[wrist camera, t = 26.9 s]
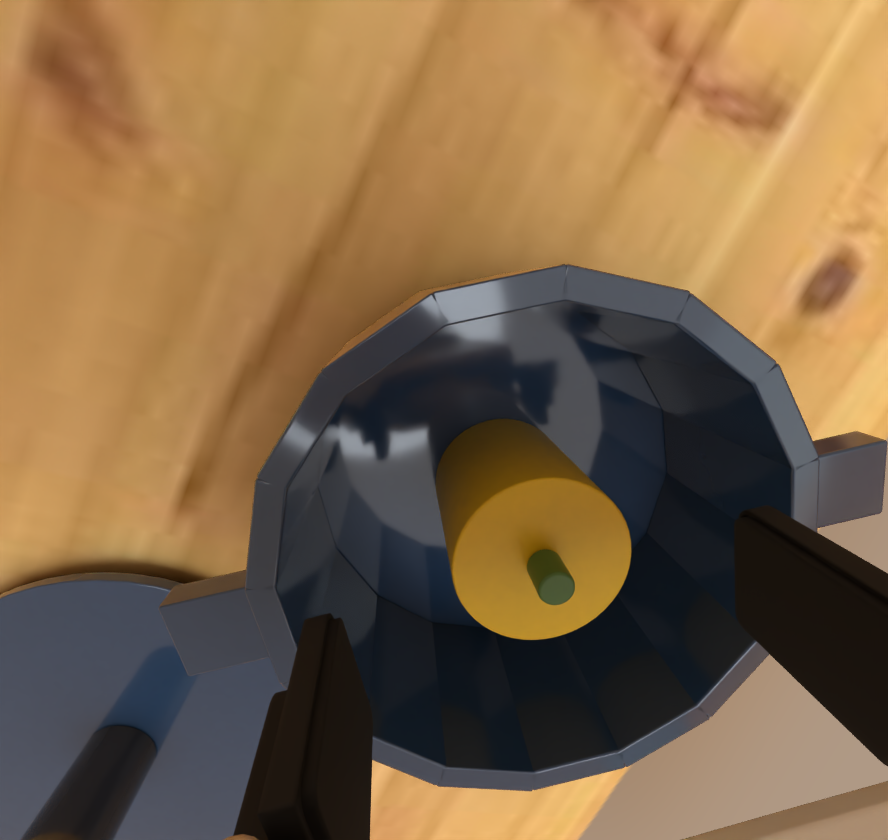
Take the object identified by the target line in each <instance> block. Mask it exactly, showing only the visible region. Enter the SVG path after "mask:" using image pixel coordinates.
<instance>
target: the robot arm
mask: <svg viewBox="0 0 888 840" xmlns="http://www.w3.org/2000/svg"><path fill="white" fill-rule="evenodd" d="M734 564H735V614H736V617H737V620H738V622H739V623H740V625H741V626H742V628H743V629H744V630H745V631H746V632H747V633H748V634H749V635H750V636H751V637H753V638H754V639H755V640H756V641H757V642H758V643H759V644H760V645H761V646H762V647H763V648H764V649H765V650H766V651H767V652H768V653H769V654H770V655H771V656H772V657H773V658H774V659H775V660H776V661H777V662H778V663H779V664H780V665H782V666H783V667H784V668H785V669H786V670H787V671H788V672H789V673H790V674H791V675H792V676H793V677H794V678H795V679H796V680H797V681H798V682H799V683H800V684H801V685H802V686H803V687H804V688H805V689H806V690H807V691H808V692H809V693H810V694H811V695H813V696H814V697H815V698H816V699H817V700H818V701H819V702H820V703H821V704H822V705H823V706H824V707H825V708H826V709H827V710H828V711H829V712H830V713H831V714H832V715H833V716H834V717H835V718H836V719H838V721H839V722H840V723H842V724H843V725H844V726H845V727H846V728H847V729H848V730H849V731H850V732H851V733H852V734H853V735H854V736H855V737H856V738H857V739H858V740H859V741H860V742H861V743H862V744H863V745H865V747H866V748H867V749H868V750H869V751H870V752H872V753H873V754H874V755H875V756H876V757H877V758H878V759H879V760H880V761H881V762H882V763H883V764H885V765H887V766H888V574H887V573H886V572H884V571H882V570H881V569H879V568H877V567H875V566H874V565H872V564H870V563H869V562H867V561H865V560H863V559H862V558H860V557H858V556H857V555H855V554H853V553H851V552H850V551H848V550H846V549H844V548H843V547H841V546H839V545H837V544H836V543H834V542H832V541H831V540H829V539H827V538H825V537H824V536H822V535H820V534H818V533H817V532H815V531H813V530H812V529H810V528H808V527H806V526H805V525H803V524H801V523H800V522H798V521H796V520H794V519H793V518H791V517H789V516H787V515H786V514H784V513H782V512H781V511H779V510H777V509H775V508H774V507H771V506H769V505H764V506H760V507H756V508H752V509H748V510H744V511H742V512H741V513H740V515H739V519H737V520H735V522H734ZM372 743H373V718H372V711H371V707H370V703H369V700H368V697H367V694H366V691H365V688H364V685H363V682H362V679H361V675H360V672H359V669H358V666H357V663H356V660H355V657H354V654H353V651H352V647H351V644H350V641H349V638H348V635H347V632H346V629H345V626H344V623H343V620H342V618H336V619H334V617H333V615H332V614H331V613H328V614H324V615H320V616H316V617H312V618H308V619H305V620H304V623H303V627H302V631H301V635H300V639H299V643H298V648H297V652H296V656H295V660H294V664H293V668H292V672H291V676H290V680H289V685H288V689H287V690H285V691H281V692H277V693H275V694H274V695H273V697H272V699H271V702H270V704H269V708H268V712H267V715H266V719H265V722H264V726H263V730H262V733H261V737H260V740H259V744H258V748H257V751H256V755H255V759H254V762H253V766H252V769H251V773H250V777H249V780H248V784H247V787H246V791H245V795H244V798H243V802H242V806H241V809H240V813H239V816H238V820H237V824H236V827H235V831H234V834H233V836H229V837H227V838H225V839H223V840H370V811H371V777H372ZM682 840H888V781H886V782H883V783H879V784H876V785H872V786H869V787H865V788H861V789H858V790H855V791H851V792H847V793H844V794H840V795H836V796H833V797H830V798H826V799H822V800H819V801H815V802H812V803H808V804H804V805H801V806H797V807H794V808H791V809H787V810H783V811H780V812H776V813H773V814H769V815H766V816H762V817H759V818H756V819H752V820H748V821H745V822H741V823H738V824H735V825H731V826H727V827H724V828H721V829H717V830H713V831H710V832H707V833H703V834H700V835H696V836H693V837H689V838H686V839H682Z"/></svg>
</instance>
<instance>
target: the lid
mask: <svg viewBox="0 0 888 840" xmlns="http://www.w3.org/2000/svg"><path fill="white" fill-rule="evenodd" d="M182 584H184V583H180V582H176V581H173V580H169V579H165V578H160V577H154V576H147V575H141V574H134V573H116V572H95V573H76V574H70V575H64V576H58V577H52V578H46V579H43V580H39V581H36V582H33V583H29V584H26V585H22V586H19V587H16V588H14V589H12V590H9V591H7V592H5V593H2V594H0V840H223V839H225V838H227V837H229V836H233V834H234V831H235V827H236V824H237V820H238V816H239V813H240V809H241V806H242V802H243V798H244V795H245V791H246V787H247V784H248V780H249V777H250V773H251V769H252V766H253V762H254V759H255V755H256V751H257V748H258V744H259V740H260V737H261V733H262V730H263V726H264V722H265V719H266V715H267V712H268V708H269V704H270V702H271V699H272V697H273V695H274V694H275V693H277V692H281V691H285V690H286V689H285V688H284V687H283V686H282V683H279V681H278V678H277V675H276V673H275V670H274V667H273V665H272V662H271V659H270V657H269V658H265V659H260V660H256V661H252V662H248V663H243V664H239V665H235V666H231V667H226V668H222V669H218V670H214V671H209V672H205V673H201V674H197V675H192V676H188V674H187V672H186V670H185V667H184V665H183V663H182V661H181V658H180V656H179V654H178V652H177V649H176V647H175V645H174V643H173V640H172V638H171V636H170V634H169V632H168V629H167V627H166V625H165V623H164V620H163V618H162V616H161V614H160V611H159V609H158V608H159V606H160V605H161V603H162V602H163V601H164V599H165V598H166V597H167V595H168V594H169V593H170V591H171V590H172V589H173V587H175V586H177V585H182Z"/></svg>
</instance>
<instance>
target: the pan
mask: <svg viewBox="0 0 888 840" xmlns="http://www.w3.org/2000/svg"><path fill="white" fill-rule="evenodd" d="M495 419H513V420H518V421H522V422H525V423H528V424H530V425H532V426H534V427H536V428H538V429H539V430H540V431H542V432H543V433H544V434H545V435H546V436H547V437H548V438H549V439H550V440H551V441H552V442H553V443H554V444H555V445H556V446H557V447H558V448H559V449H560V450H561V451H562V452H563V453H564V454H565V455H566V456H567V457H568V458H569V459H570V460H571V461H572V462H573V463H574V464H575V465H576V466H577V467H578V468H579V469H580V470H581V471H582V472H583V473H585V474H586V475H587V476H588V477H589V478H590V479H591V480H592V481H593V482H594V483H595V484H596V485H597V486H598V487H599V488H600V489H601V490H602V491H603V492H604V493H605V494H606V495H607V496H608V497H609V498H610V499H611V500H612V501H613V502H614V503H615V505H616V506H617V507H618V509H619V510H620V511H621V513H622V515H623V517H624V519H625V521H626V523H627V526H628V529H629V533H630V538H631V561H630V566H629V570H628V574H627V576H626V579H625V581H624V584H623V586H622V587H621V589H620V591H619V593H618V594H617V596H616V597H615V598H614V600H613V601H612V602H611V603H610V605H609V606H608V607H607V608H606V609H605V610H604V611H603V612H602V613H600V614H599V615H598V616H597V617H596V618H594V619H593V620H592V621H590V622H589V623H587V624H586V625H584V626H582V627H580V628H578V629H577V630H574V631H572V632H569V633H567V634H564V635H561V636H557V637H553V638H548V639H539V640H523V639H516V638H510V637H507V636H503V635H500V634H498V633H496V632H493V631H491V630H489V629H488V628H486V627H484V626H483V625H481V624H480V623H479V622H478V621H476V620H475V619H474V618H473V617H472V616H471V615H470V614H469V613H468V612H467V611H466V609H465V608H464V606H463V605H462V603H461V602H460V600H459V598H458V596H457V594H456V591H455V587H454V584H453V580H452V574H451V569H450V563H449V558H448V553H447V547H446V542H445V536H444V531H443V526H442V520H441V515H440V510H439V504H438V499H437V493H436V473H437V469H438V465H439V462H440V460H441V457H442V455H443V454H444V452H445V450H446V449H447V447H448V446H449V445H450V444H451V442H452V441H453V440H454V439H455V438H456V437H457V436H459V435H460V434H461V433H462V432H464V431H465V430H467V429H469V428H470V427H472V426H474V425H477V424H479V423H482V422H485V421H489V420H495ZM886 452H887V441H886V440H883V439H880V438H877V437H874V436H871V435H867V434H864V433H861V432H857V431H856V432H851V433H846V434H842V435H837V436H833V437H829V438H824V439H820V440H815V441H812V438H811V436H810V434H809V432H808V429H807V427H806V425H805V422H804V420H803V418H802V416H801V413H800V411H799V409H798V406H797V404H796V402H795V400H794V397H793V395H792V393H791V391H790V388H789V386H788V384H787V381H786V379H785V377H784V375H783V372H782V370H781V368H780V366H779V365H778V364H777V363H776V361H775V360H774V359H773V358H771V357H770V356H769V355H768V354H766V353H765V352H764V351H763V350H761V349H760V348H759V347H758V346H756V345H755V344H754V343H753V342H751V341H750V340H749V339H748V338H747V337H745V336H744V335H743V334H742V333H740V332H739V331H738V330H737V329H735V328H734V327H733V326H732V325H730V324H729V323H728V322H727V321H725V320H724V319H723V318H722V317H720V316H719V315H718V314H717V313H716V312H714V311H713V310H712V309H711V308H709V307H708V306H707V305H706V304H704V303H703V302H702V301H701V300H699V299H698V298H697V297H696V296H694V295H693V294H692V293H690V292H689V291H687V290H683V289H678V288H674V287H669V286H665V285H660V284H656V283H651V282H647V281H642V280H638V279H633V278H628V277H624V276H619V275H615V274H610V273H606V272H601V271H597V270H592V269H588V268H583V267H579V266H574V265H570V264H566V265H565V264H562V265H555V266H549V267H542V268H535V269H529V270H522V271H516V272H509V273H503V274H498V275H493V276H488V277H484V278H479V279H474V280H469V281H464V282H459V283H455V284H450V285H445V286H441V287H436V288H431V289H426V290H422V291H420V292H417V293H416V294H415V295H413V296H412V297H410V298H409V299H407V300H406V301H405V302H403V303H402V304H400V305H399V306H397V307H396V308H395V309H393V310H392V311H390V312H389V313H387V314H386V315H384V316H383V317H382V318H380V319H379V320H378V321H376V322H375V323H373V324H372V325H370V326H369V327H368V328H366V329H365V330H363V331H362V332H361V333H359V334H358V335H356V336H355V337H353V338H352V339H351V340H349V341H348V343H347V344H346V345H345V346H344V347H343V348H342V349H341V350H340V351H339V352H338V353H337V354H336V355H335V356H334V357H333V358H332V359H331V360H330V361H329V362H328V363H327V364H326V365H325V367H324V368H323V369H322V370H321V371H320V372H319V373H318V375H317V377H316V378H315V380H314V382H313V383H312V385H311V387H310V388H309V390H308V391H307V393H306V395H305V396H304V398H303V400H302V401H301V403H300V405H299V406H298V408H297V410H296V411H295V413H294V415H293V416H292V418H291V420H290V421H289V423H288V425H287V426H286V428H285V429H284V431H283V433H282V434H281V436H280V438H279V439H278V441H277V443H276V444H275V446H274V448H273V449H272V451H271V453H270V454H269V456H268V458H267V459H266V461H265V463H264V464H263V466H262V468H261V469H260V471H259V472H258V474H257V479H256V480H255V487H254V497H253V507H252V517H251V527H250V537H249V547H248V557H247V567H246V570H243V571H239V572H234V573H230V574H226V575H221V576H217V577H213V578H208V579H204V580H199V581H195V582H191V583H186V584H182V585H177V586H175V587H173V589H172V590H171V591H170V593H169V594H168V595H167V597H166V598H165V599H164V601H163V602H162V603H161V605H160V606H159V608H158V609H159V611H160V614H161V616H162V618H163V620H164V623H165V625H166V627H167V629H168V632H169V634H170V636H171V638H172V640H173V643H174V645H175V647H176V649H177V652H178V654H179V656H180V658H181V661H182V663H183V665H184V667H185V670H186V672H187V674H188V676H192V675H197V674H201V673H205V672H209V671H214V670H218V669H222V668H226V667H231V666H235V665H239V664H243V663H248V662H252V661H256V660H260V659H265V658H269V657H270V659H271V662H272V665H273V667H274V670H275V673H276V675H277V678H278V681H279V683H282V686H283V687H284V688H285V689H286V690H287V689H288V685H289V680H290V676H291V672H292V668H293V664H294V660H295V656H296V652H297V648H298V643H299V639H300V635H301V631H302V627H303V623H304V620H305V619H308V618H312V617H316V616H320V615H324V614H328V613H331V614H332V615H333V617H334V619H336V618H342V620H343V623H344V626H345V629H346V632H347V635H348V638H349V641H350V644H351V647H352V651H353V654H354V657H355V660H356V663H357V666H358V669H359V672H360V675H361V679H362V682H363V685H364V688H365V691H366V694H367V697H368V700H369V703H370V707H371V711H372V718H373V743H372V760H374V761H376V762H379V763H381V764H384V765H386V766H389V767H391V768H394V769H396V770H398V771H401V772H403V773H406V774H408V775H411V776H413V777H416V778H418V779H421V780H423V781H426V782H428V783H431V784H433V785H437V786H439V787H458V788H477V789H497V790H516V791H532V790H537V789H541V788H545V787H549V786H553V785H557V784H561V783H565V782H569V781H573V780H577V779H581V778H585V777H589V776H593V775H597V774H601V773H605V772H609V771H613V770H617V769H621V768H624V767H625V766H626V767H628V766H630V765H632V764H633V763H635V762H637V761H638V760H640V759H642V758H644V757H645V756H647V755H649V754H650V753H652V752H654V751H656V750H657V749H659V748H661V747H662V746H664V745H666V744H668V743H669V742H671V741H673V740H674V739H676V738H678V737H679V736H681V735H683V734H685V733H686V732H688V731H690V730H691V729H693V728H695V727H697V726H698V725H700V724H702V723H703V722H705V721H707V720H709V717H711V716H713V715H714V714H715V712H716V711H717V710H718V709H719V708H720V707H721V706H722V705H723V704H724V703H725V701H727V699H728V698H729V697H730V696H731V695H732V694H733V693H734V692H735V691H736V690H737V689H738V688H739V686H740V685H741V684H742V683H743V682H744V681H745V680H746V679H747V678H748V677H749V676H750V675H751V673H752V672H753V671H754V670H755V669H756V668H757V667H758V666H759V665H760V664H761V663H762V662H763V660H764V659H765V658H766V657H767V656H768V655H769V653H768V652H767V651H766V650H765V649H764V648H763V647H762V646H761V645H760V644H759V643H758V642H757V641H756V640H755V639H754V638H753V637H751V636H750V635H749V634H748V633H747V632H746V631H745V630H744V629H743V628H742V626H741V625H740V623H739V622H738V620H737V617H736V614H735V564H734V522H735V520H737V519H739V515H740V513H741V512H742V511H744V510H748V509H752V508H756V507H760V506H764V505H769V506H771V507H774V508H775V509H777V510H779V511H781V512H782V513H784V514H786V515H787V516H789V517H791V518H793V519H794V520H796V521H798V522H800V523H801V524H803V525H805V526H806V527H808V528H810V529H812V530H813V531H815V532H817V528H820V527H824V526H828V525H833V524H837V523H841V522H846V521H850V520H854V519H858V518H863V517H867V516H871V515H875V514H879V513H881V512H882V505H883V492H884V478H885V466H886Z"/></svg>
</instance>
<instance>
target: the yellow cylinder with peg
mask: <svg viewBox="0 0 888 840" xmlns="http://www.w3.org/2000/svg"><path fill="white" fill-rule="evenodd" d="M436 493H437V499H438V504H439V510H440V515H441V520H442V526H443V531H444V536H445V542H446V547H447V553H448V558H449V563H450V569H451V574H452V580H453V584H454V587H455V591H456V594H457V596H458V598H459V600H460V602H461V603H462V605H463V606H464V608H465V609H466V611H467V612H468V613H469V614H470V615H471V616H472V617H473V618H474V619H475V620H476V621H478V622H479V623H480V624H481V625H483V626H484V627H486V628H488V629H489V630H491V631H493V632H496V633H498V634H500V635H503V636H507V637H510V638H516V639H523V640H539V639H548V638H553V637H557V636H561V635H564V634H567V633H569V632H572V631H574V630H577V629H578V628H580V627H582V626H584V625H586V624H587V623H589V622H590V621H592V620H593V619H594V618H596V617H597V616H598V615H599V614H600V613H602V612H603V611H604V610H605V609H606V608H607V607H608V606H609V605H610V603H611V602H612V601H613V600H614V598H615V597H616V596H617V594H618V593H619V591H620V589H621V587H622V586H623V584H624V581H625V579H626V576H627V574H628V570H629V566H630V561H631V538H630V533H629V529H628V526H627V523H626V521H625V519H624V517H623V515H622V513H621V511H620V510H619V509H618V507H617V506H616V505H615V503H614V502H613V501H612V500H611V499H610V498H609V497H608V496H607V495H606V494H605V493H604V492H603V491H602V490H601V489H600V488H599V487H598V486H597V485H596V484H595V483H594V482H593V481H592V480H591V479H590V478H589V477H588V476H587V475H586V474H585V473H583V472H582V471H581V470H580V469H579V468H578V467H577V466H576V465H575V464H574V463H573V462H572V461H571V460H570V459H569V458H568V457H567V456H566V455H565V454H564V453H563V452H562V451H561V450H560V449H559V448H558V447H557V446H556V445H555V444H554V443H553V442H552V441H551V440H550V439H549V438H548V437H547V436H546V435H545V434H544V433H543V432H542V431H540V430H539V429H538V428H536V427H534V426H532V425H530V424H528V423H525V422H522V421H518V420H513V419H495V420H489V421H485V422H482V423H479V424H477V425H474V426H472V427H470V428H469V429H467V430H465V431H464V432H462V433H461V434H460V435H459V436H457V437H456V438H455V439H454V440H453V441H452V442H451V444H450V445H449V446H448V447H447V449H446V450H445V452H444V454H443V455H442V457H441V460H440V462H439V465H438V469H437V473H436Z"/></svg>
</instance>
